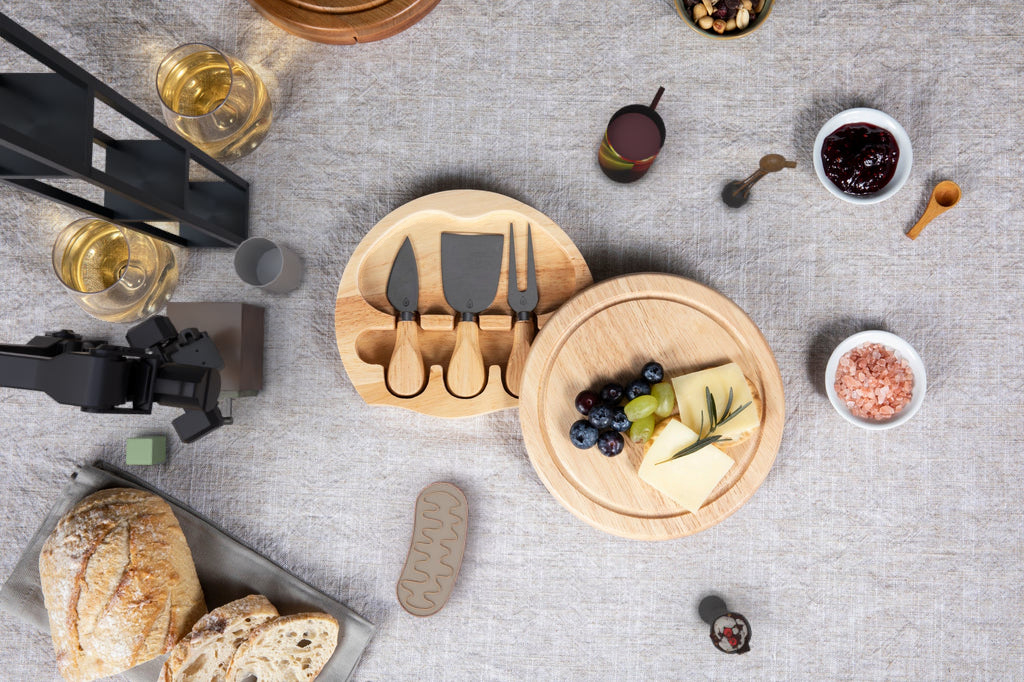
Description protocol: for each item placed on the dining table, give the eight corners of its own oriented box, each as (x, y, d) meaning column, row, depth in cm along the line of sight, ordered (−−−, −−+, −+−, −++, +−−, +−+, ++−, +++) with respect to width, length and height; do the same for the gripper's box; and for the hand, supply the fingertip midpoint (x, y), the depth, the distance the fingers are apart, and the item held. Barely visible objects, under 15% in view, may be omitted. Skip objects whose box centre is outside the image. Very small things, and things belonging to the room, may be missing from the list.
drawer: (256, 422, 117) (237, 426, 110) (192, 422, 118) (169, 425, 110) (258, 320, 118) (240, 316, 111) (195, 319, 118) (172, 316, 111)
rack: (181, 248, 120) (-234, 98, 54) (183, 182, 121) (-225, -45, 55) (247, 248, 120) (-89, 98, 54) (249, 183, 120) (-82, -46, 54)
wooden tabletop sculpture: (755, 184, 119) (802, 146, 99) (752, 209, 119) (799, 176, 99) (722, 180, 119) (762, 142, 99) (719, 206, 119) (759, 172, 99)
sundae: (691, 592, 116) (716, 625, 101) (729, 589, 116) (760, 621, 101) (694, 630, 115) (720, 669, 100) (733, 627, 115) (764, 665, 100)
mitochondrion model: (425, 472, 117) (420, 477, 112) (479, 485, 117) (477, 490, 112) (395, 600, 117) (390, 611, 112) (450, 613, 116) (447, 624, 111)
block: (140, 461, 118) (125, 464, 114) (141, 435, 119) (126, 438, 114) (165, 461, 118) (151, 465, 114) (166, 436, 119) (152, 438, 114)
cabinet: (262, 389, 119) (239, 390, 109) (192, 388, 119) (163, 390, 109) (264, 307, 119) (242, 302, 110) (195, 307, 120) (166, 301, 110)
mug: (654, 109, 120) (668, 80, 108) (650, 184, 119) (664, 163, 107) (600, 106, 120) (609, 77, 108) (596, 182, 119) (605, 161, 107)
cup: (297, 298, 119) (276, 291, 109) (253, 289, 119) (228, 281, 110) (307, 252, 120) (287, 241, 110) (263, 243, 120) (239, 231, 110)
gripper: (232, 410, 89) (274, 404, 105) (166, 290, 90) (218, 302, 106) (159, 451, 89) (213, 439, 105) (94, 331, 90) (157, 336, 106)
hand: (202, 378), depth 105 cm, fingers open, 9 cm apart
